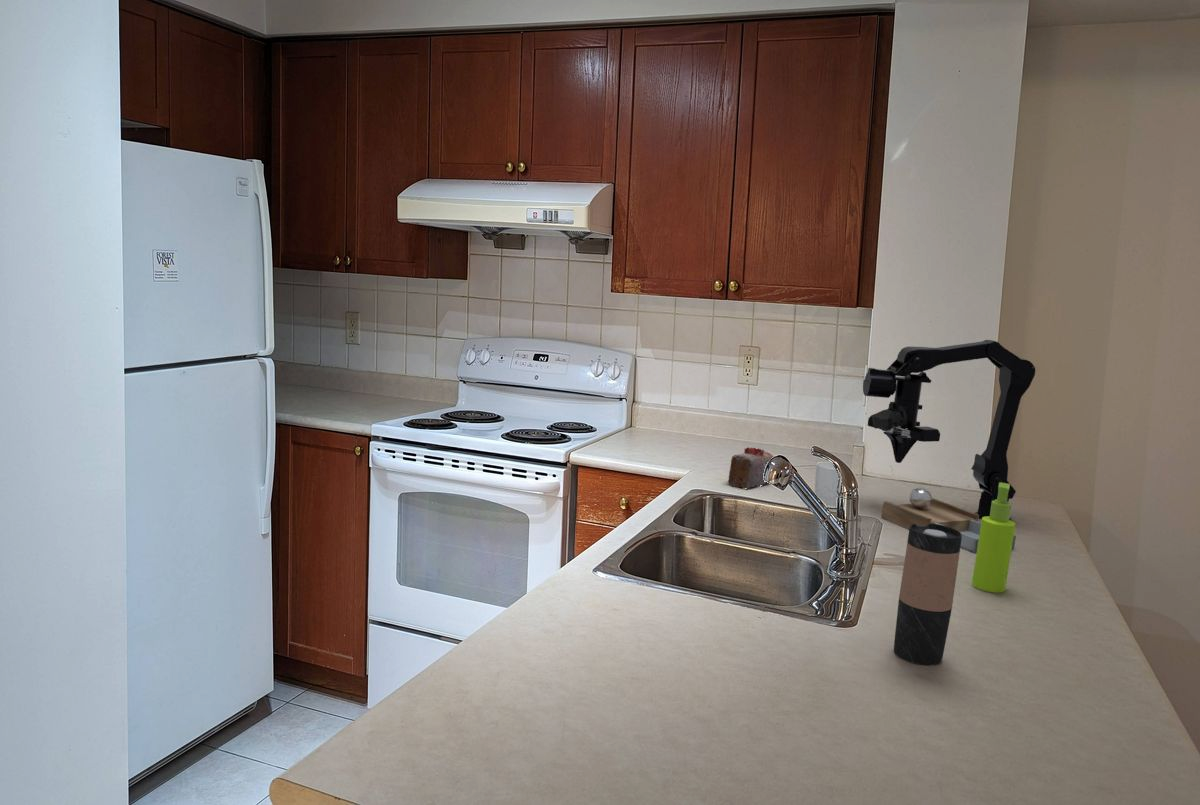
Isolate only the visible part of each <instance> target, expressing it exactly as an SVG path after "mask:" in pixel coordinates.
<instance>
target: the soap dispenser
mask: <svg viewBox="0 0 1200 805" xmlns="http://www.w3.org/2000/svg"><path fill="white" fill-rule="evenodd" d="M1010 484H1011V483H1010ZM1010 484H1007V483H1001V482H999V486H998V497H997V499H996V500H994V501H992V503H991V510H990V516H986V517H982V518H981V522H980V523H981V527H980V534H979V540H978V547H977V553H975V562H974V568H973V574H972V581H971V585H972V586H973V587H974V588H976V589H978V590H980V591H984V592H989V593H995V594H996V593H1004V592H1005V591H1006V587H1007V586H1006V585H1007V579H1008V574H1009V567H1010V562H1011V561H1010V560H1011V555H1012V550H1013V549H1012V544H1013V537H1014V535H1015V530H1016V522H1015V521H1012V519H1011V520H1009V518H1010V516H1011V515H1010V514H1011V509H1012V504H1011V503H1010V502H1008V501H1007V497H1008V492H1009V488H1010Z"/></svg>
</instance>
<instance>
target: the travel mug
mask: <svg viewBox="0 0 1200 805" xmlns="http://www.w3.org/2000/svg"><path fill="white" fill-rule="evenodd" d="M961 539H962V534H961V533H960V532H959V531H957V530H955V529H953V528H950V527H947V526H943V525H939V524H928V525H927V526H917V525H916V524H915V523H914V524H911V525H910V528H909V529H908V536H907V541H906V549H905V555H904V563H903V567H902V568H903V570H902V576H901V583H900V587H899V588H900V590H899V595H898V601H897V602H898V604H897V611H896V612H897V613H896V620H895V623H896V624H895V632H894V644H893V653H894V654H895V656H897V657H898V658H900V659H902V660H903V661H906V662H909V663H912V664H915V665H919V666H920V665H921V666H937V665H939V664H941V663H942V661H943V658H944V652H945V646H946V642H947V636H948V630H949V626H950V625H949V624H950V621H951V616H952V615H951V614H952V608H953V603H954V597H955V596H954V595H955V588H956V580H957V574H958V566H959V559H960V552H961V551H960V550H961Z"/></svg>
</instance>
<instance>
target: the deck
mask: <svg viewBox="0 0 1200 805" xmlns="http://www.w3.org/2000/svg"><path fill="white" fill-rule="evenodd" d="M881 519H883V520H886V521H888V522H891V523H893V524H895V525H897V526H900V527H902V528H905V529H907V530H909V528H910V525H911V524H914V523H915V524H916V525H917V526H927V525H928V524H934V523H939V524H941V525H944V526H947V527H950V528H953V529H955V530H957V531H959V532H961V531H968V530H969V523H970V520H974V521H977V522H979V519H980V517H979V515H978V514H975V513H974V512H973V511H969V510H966V509H963V508H961V507H959V506H956V505H953V504H950V503H947V502H944V501H942V500H939V499H936V498H934V497H932V501H931V503H930V505H929V506H928V507H926V508H922V509H920V508H916V507H914V506H913V505H912V504H911V503H905V504H901V503H900V504H894V503H892V502H889V501H883V503H882V510H881Z"/></svg>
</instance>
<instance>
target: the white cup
mask: <svg viewBox="0 0 1200 805" xmlns="http://www.w3.org/2000/svg"><path fill="white" fill-rule="evenodd" d="M831 462H832V461H819V462H816V465H815V466H816V467H815V468H816V469H815V478H814V480H815V482H814V494H815V493H816V495H817V496H818V497H819V498H820V499H821V500H822V501H823V502H824V503H825V504H826V505H827V506H828V505H830V506H831V505H832V506H835V507H836V498H837V492H836V491H837V483H838V473H837V471H836V469H835V468H834V466H833V464H832V463H831ZM847 466H848V467H849V468H850V466H849V465H847Z"/></svg>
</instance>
